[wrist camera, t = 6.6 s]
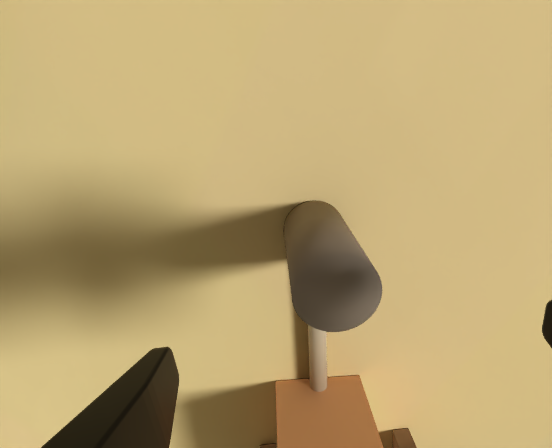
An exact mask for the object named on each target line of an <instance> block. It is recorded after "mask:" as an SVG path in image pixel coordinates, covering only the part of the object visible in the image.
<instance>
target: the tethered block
mask: <svg viewBox="0 0 552 448" xmlns="http://www.w3.org/2000/svg"><path fill="white" fill-rule="evenodd" d="M284 239H285V247H286V255H287V263H288V270H289V278H290V286H291V294H292V302H293V306H294V309H295V311H296V313H297V314H298V316H299V317H300V318H301V319H302V320H303V321H304V322H305V323H306V324H308V345H309V373H310V379H297V380H283V381H275V383H276V415H277V448H383V445H382V442H381V439H380V436H379V433H378V430H377V427H376V424H375V421H374V418H373V415H372V412H371V409H370V406H369V403H368V400H367V397H366V394H365V391H364V388H363V385H362V382H361V379H360V376H359V375H356V376H341V377H327V332H340V331H346V330H349V329H352V328H355V327H357V326H359V325H361V324H362V323H364V322H365V321H366V320H368V319H369V318H370V317H371V316H372V314H373V313H374V312H375V311H376V309H377V307H378V305H379V303H380V300H381V296H382V284H381V280H380V277H379V275H378V273H377V271H376V270H375V268H374V266H373V265H372V263H371V262H370V260H369V259H368V257H367V255H366V254H365V252H364V251H363V249H362V248H361V246H360V245H359V243H358V241H357V240H356V238H355V237H354V235H353V234H352V232H351V231H350V229H349V227H348V226H347V224H346V223H345V221H344V220H343V218H342V217H341V215H340V213H339V212H338V211H337V210H336V209H335V208H334V207H333V206H332V205H330V204H328V203H326V202H322V201H308V202H304V203H302V204H300V205H298V206H296V207H295V208H294V209H293V210H292V211H291V212H290V213H289V214H288V216H287V218H286V220H285V223H284Z"/></svg>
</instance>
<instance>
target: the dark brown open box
mask: <svg viewBox="0 0 552 448" xmlns="http://www.w3.org/2000/svg"><path fill="white" fill-rule="evenodd" d="M260 448H276V444H267V445H260ZM393 448H417V447H416V445H415V443H414V441H413V438H412V436H411V434H410V431H409V429H408V428H407V429H398V430H393Z"/></svg>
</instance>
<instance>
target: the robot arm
mask: <svg viewBox="0 0 552 448" xmlns="http://www.w3.org/2000/svg"><path fill="white" fill-rule="evenodd" d="M542 333H543V336H544V338H545V340H546V341H547V342H548V344H549V345H550V346H551V348H552V300H550V301H549V302H548V303H547V305H546V309H545V314H544V320H543V325H542ZM178 386H179V373H178V370H177V366H176V363H175V359H174V356H173V352H172V350H171V349H170V348H169V347H162V348H154V349H152V350H150V351H149V352H148V353H147V354H146V355H145V356H144V357H142V358H141V359H140V360H139V361H138V362H137V363H136V364H135V365H133V366H132V367H131V368H130V369H129V370H128V371H127V372H126V373H124V374H123V375H122V376H121V377H120V378H119V379H118V380H117V381H115V382H114V383H113V384H112V385H111V386H110V387H109V388H108V389H106V390H105V391H104V392H103V393H102V394H101V395H100V396H99V397H97V398H96V399H95V400H94V401H93V402H92V403H91V404H90V405H88V406H87V407H86V408H85V409H84V410H83V411H82V412H81V413H79V414H78V415H77V416H76V417H75V418H74V419H73V420H72V421H70V422H69V423H68V424H67V425H66V426H65V427H64V428H63V429H61V430H60V431H59V432H58V433H57V434H56V435H55V436H53V437H52V438H51V439H50V440H49V441H48V442H47V443H46V444H44V445H43V446H42V447H41V448H169V445H170V439H171V433H172V426H173V419H174V413H175V406H176V399H177V393H178Z"/></svg>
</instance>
